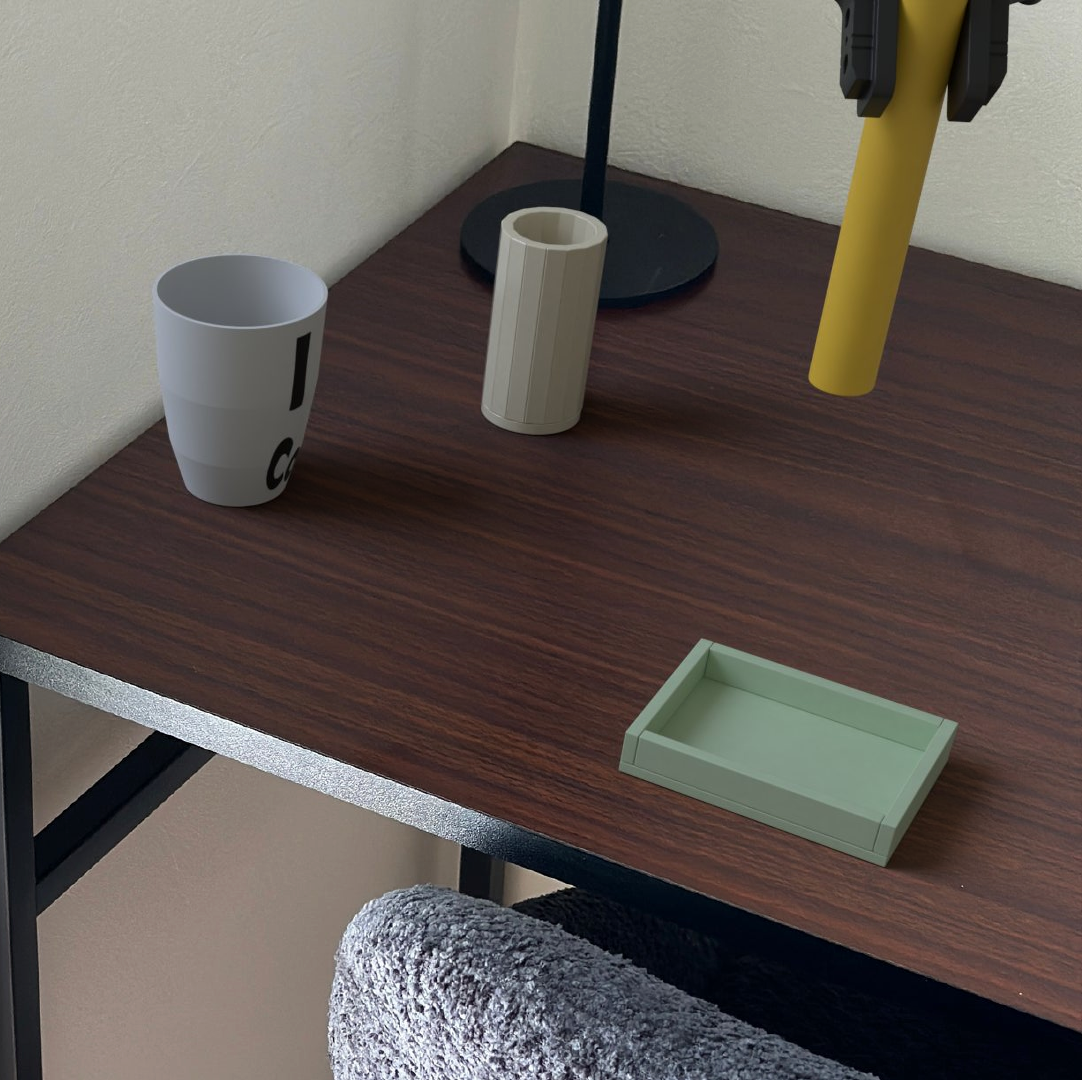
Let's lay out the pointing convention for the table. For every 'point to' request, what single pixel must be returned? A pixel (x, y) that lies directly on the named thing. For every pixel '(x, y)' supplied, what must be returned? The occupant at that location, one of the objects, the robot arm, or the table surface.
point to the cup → (238, 370)
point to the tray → (789, 750)
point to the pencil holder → (542, 319)
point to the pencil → (885, 201)
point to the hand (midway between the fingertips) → (922, 107)
